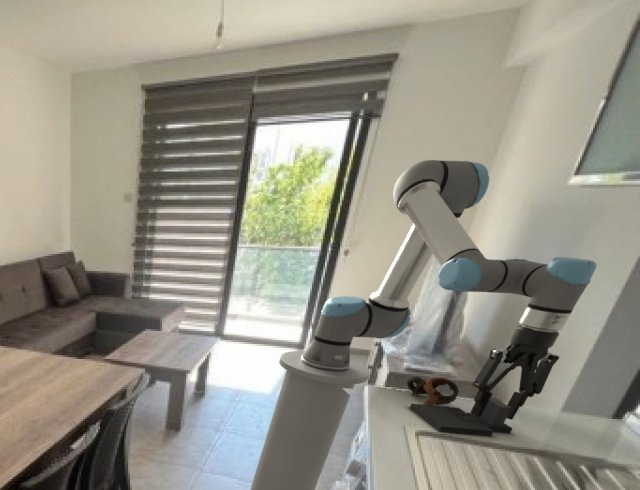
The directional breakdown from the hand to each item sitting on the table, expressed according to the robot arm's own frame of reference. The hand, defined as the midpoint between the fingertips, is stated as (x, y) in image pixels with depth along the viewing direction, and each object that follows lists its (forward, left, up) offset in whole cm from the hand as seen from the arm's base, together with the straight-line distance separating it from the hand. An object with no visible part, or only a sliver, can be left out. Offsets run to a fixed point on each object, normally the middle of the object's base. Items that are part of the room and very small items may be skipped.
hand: (491, 415), depth 123 cm
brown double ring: (-14, -7, -3) cm, 16 cm away
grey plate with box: (0, -2, -3) cm, 3 cm away
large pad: (0, -9, -3) cm, 10 cm away
